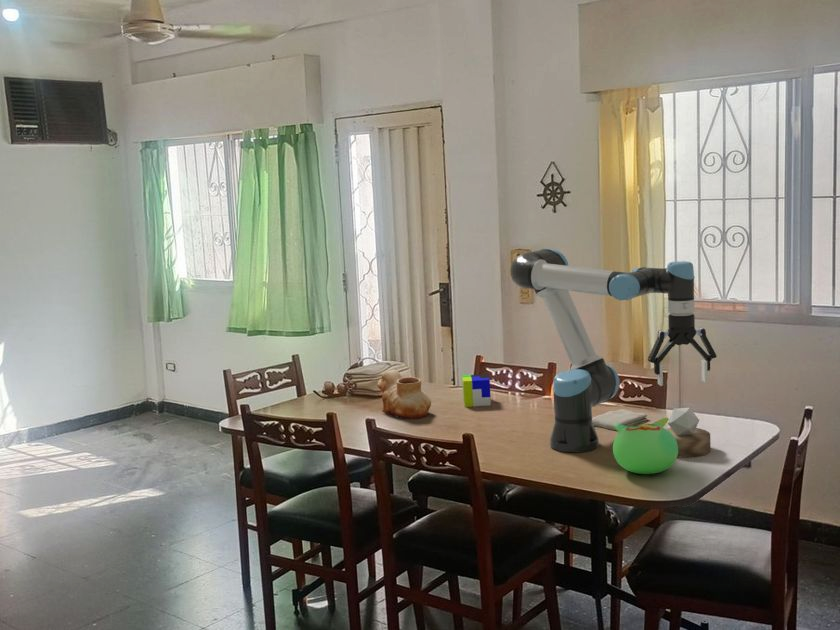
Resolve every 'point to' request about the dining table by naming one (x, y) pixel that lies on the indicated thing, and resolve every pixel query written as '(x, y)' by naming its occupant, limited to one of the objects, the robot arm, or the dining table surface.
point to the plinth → (693, 443)
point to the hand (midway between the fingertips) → (682, 383)
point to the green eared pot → (645, 447)
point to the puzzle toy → (476, 390)
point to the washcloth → (618, 419)
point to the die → (683, 421)
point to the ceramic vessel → (403, 396)
